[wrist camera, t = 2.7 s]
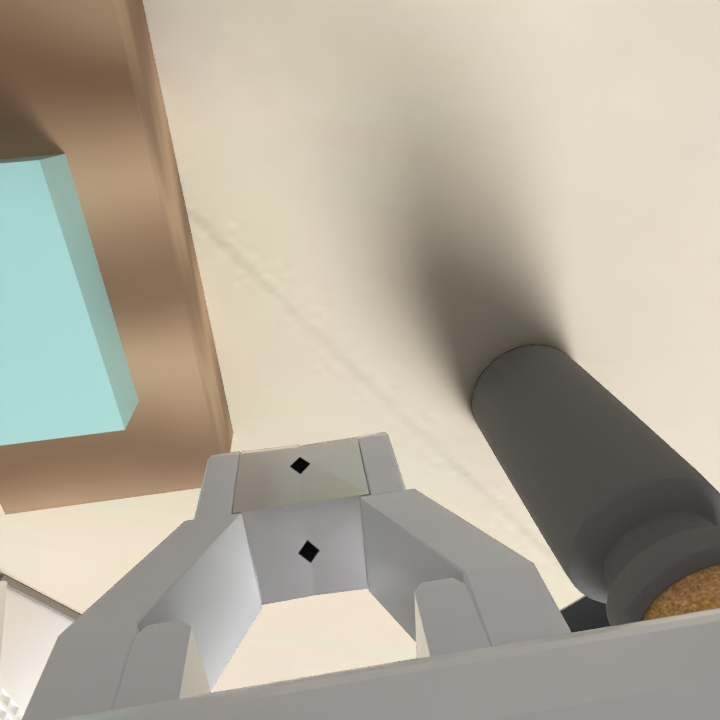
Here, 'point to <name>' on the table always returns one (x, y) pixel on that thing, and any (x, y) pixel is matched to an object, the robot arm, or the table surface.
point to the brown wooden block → (115, 249)
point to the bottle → (602, 487)
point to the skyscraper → (25, 642)
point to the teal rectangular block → (54, 313)
